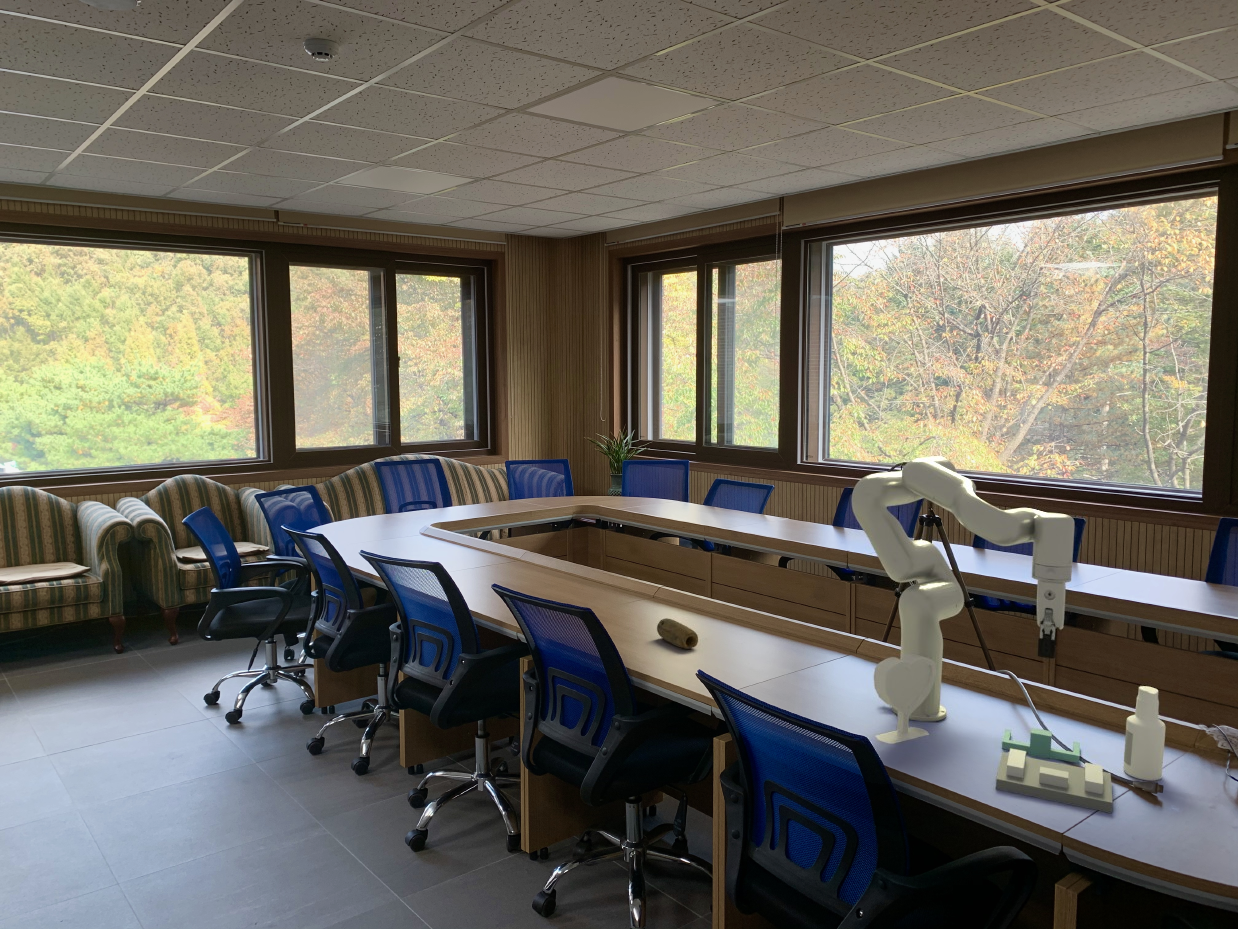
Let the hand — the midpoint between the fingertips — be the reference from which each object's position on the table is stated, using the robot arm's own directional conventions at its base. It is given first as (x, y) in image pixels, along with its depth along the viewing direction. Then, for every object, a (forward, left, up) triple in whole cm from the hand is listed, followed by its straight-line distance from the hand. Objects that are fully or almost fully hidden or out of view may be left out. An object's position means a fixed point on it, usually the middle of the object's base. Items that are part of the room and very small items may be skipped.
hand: (1047, 651), depth 187 cm
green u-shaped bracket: (0, +3, -23) cm, 23 cm away
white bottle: (+19, 0, -23) cm, 30 cm away
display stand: (+3, -15, -23) cm, 28 cm away
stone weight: (-100, +33, -23) cm, 108 cm away
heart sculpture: (-28, -4, -23) cm, 37 cm away
